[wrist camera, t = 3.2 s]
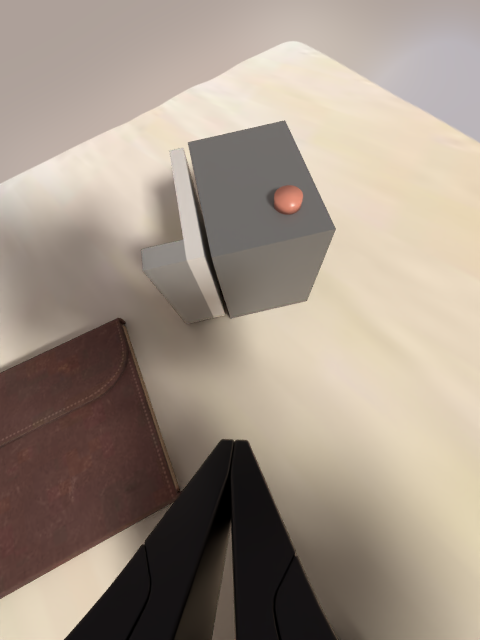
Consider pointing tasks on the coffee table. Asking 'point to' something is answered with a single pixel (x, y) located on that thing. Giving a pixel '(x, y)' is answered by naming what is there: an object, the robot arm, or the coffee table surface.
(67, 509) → the notebook
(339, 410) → the coffee table surface
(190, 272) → the door
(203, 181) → the block
